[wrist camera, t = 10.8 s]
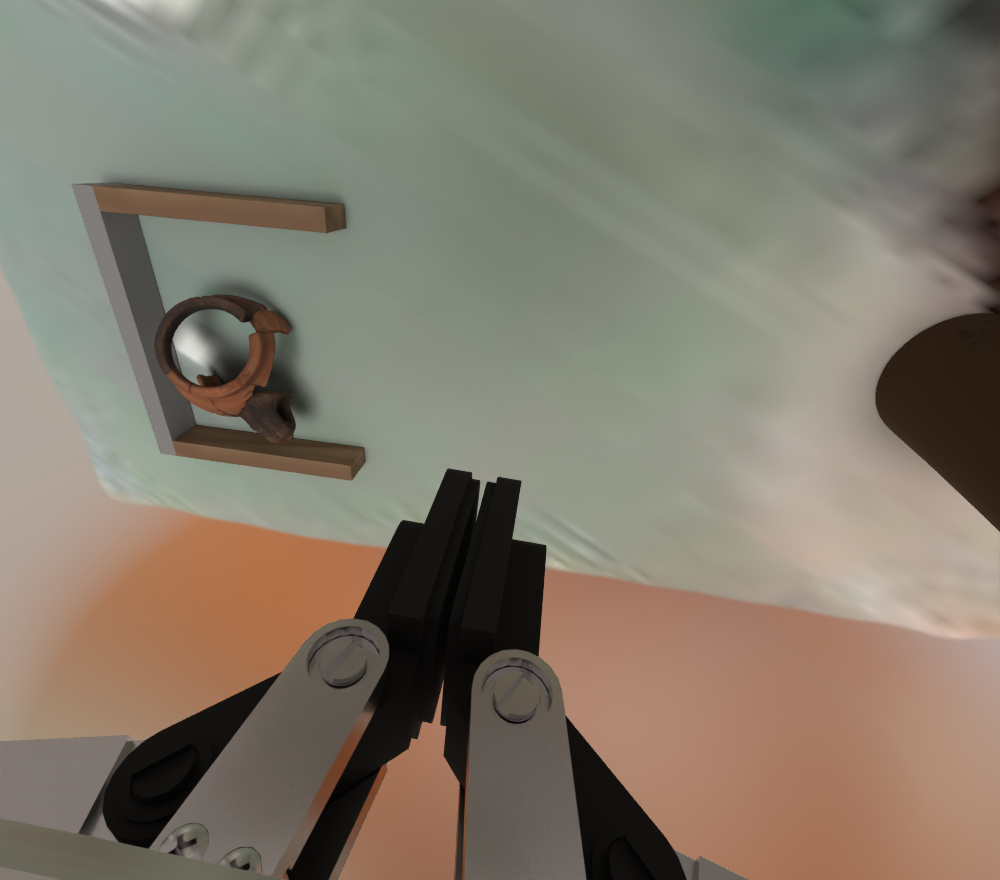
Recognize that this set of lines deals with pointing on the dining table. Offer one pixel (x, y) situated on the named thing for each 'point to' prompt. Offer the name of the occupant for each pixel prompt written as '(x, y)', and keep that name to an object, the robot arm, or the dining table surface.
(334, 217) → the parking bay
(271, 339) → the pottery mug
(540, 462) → the dining table surface
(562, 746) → the robot arm
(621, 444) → the dining table surface
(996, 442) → the olive oil
